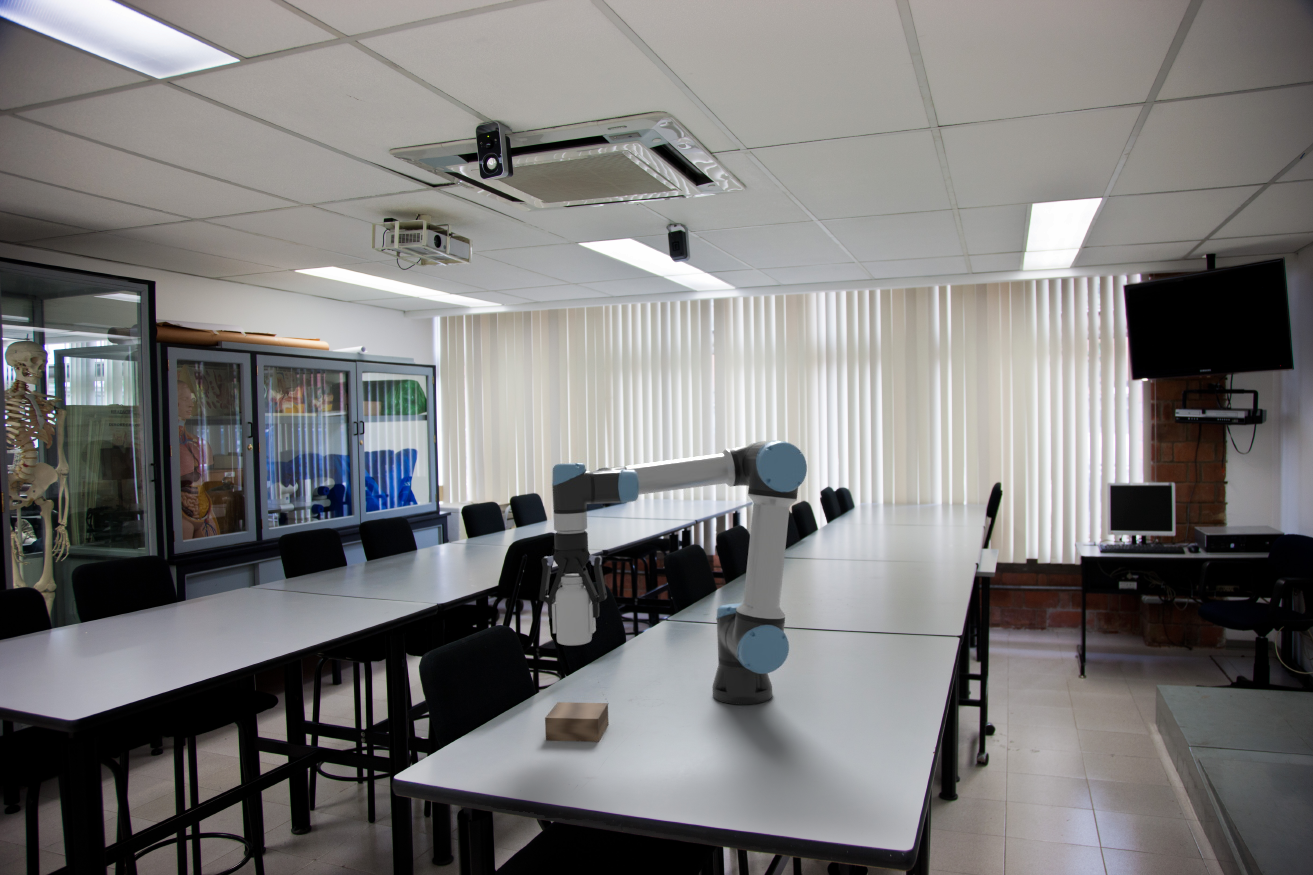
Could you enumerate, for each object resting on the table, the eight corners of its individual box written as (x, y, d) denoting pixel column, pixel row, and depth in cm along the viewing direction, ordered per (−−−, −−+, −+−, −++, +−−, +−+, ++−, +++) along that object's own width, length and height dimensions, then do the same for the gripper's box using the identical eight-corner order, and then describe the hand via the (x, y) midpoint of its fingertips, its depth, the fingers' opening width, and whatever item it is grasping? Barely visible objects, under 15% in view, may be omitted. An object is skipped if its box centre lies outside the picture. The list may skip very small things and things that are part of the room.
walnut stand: (608, 724, 176) (607, 702, 176) (598, 741, 167) (598, 718, 167) (558, 723, 178) (557, 702, 178) (545, 740, 168) (545, 717, 168)
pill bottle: (586, 646, 168) (584, 578, 168) (552, 645, 169) (549, 578, 169) (596, 637, 176) (594, 572, 176) (563, 636, 177) (561, 572, 177)
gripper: (618, 528, 175) (622, 627, 175) (532, 529, 178) (535, 627, 178) (612, 532, 167) (615, 636, 167) (521, 534, 170) (525, 635, 170)
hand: (574, 631), depth 172 cm, fingers closed on pill bottle, 8 cm apart
